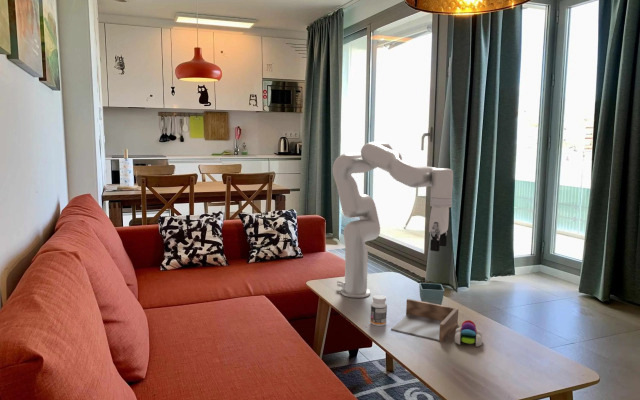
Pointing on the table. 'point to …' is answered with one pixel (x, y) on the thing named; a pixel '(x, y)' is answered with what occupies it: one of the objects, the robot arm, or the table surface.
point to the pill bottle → (378, 310)
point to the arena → (428, 320)
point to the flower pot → (431, 293)
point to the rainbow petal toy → (468, 334)
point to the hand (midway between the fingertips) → (438, 248)
